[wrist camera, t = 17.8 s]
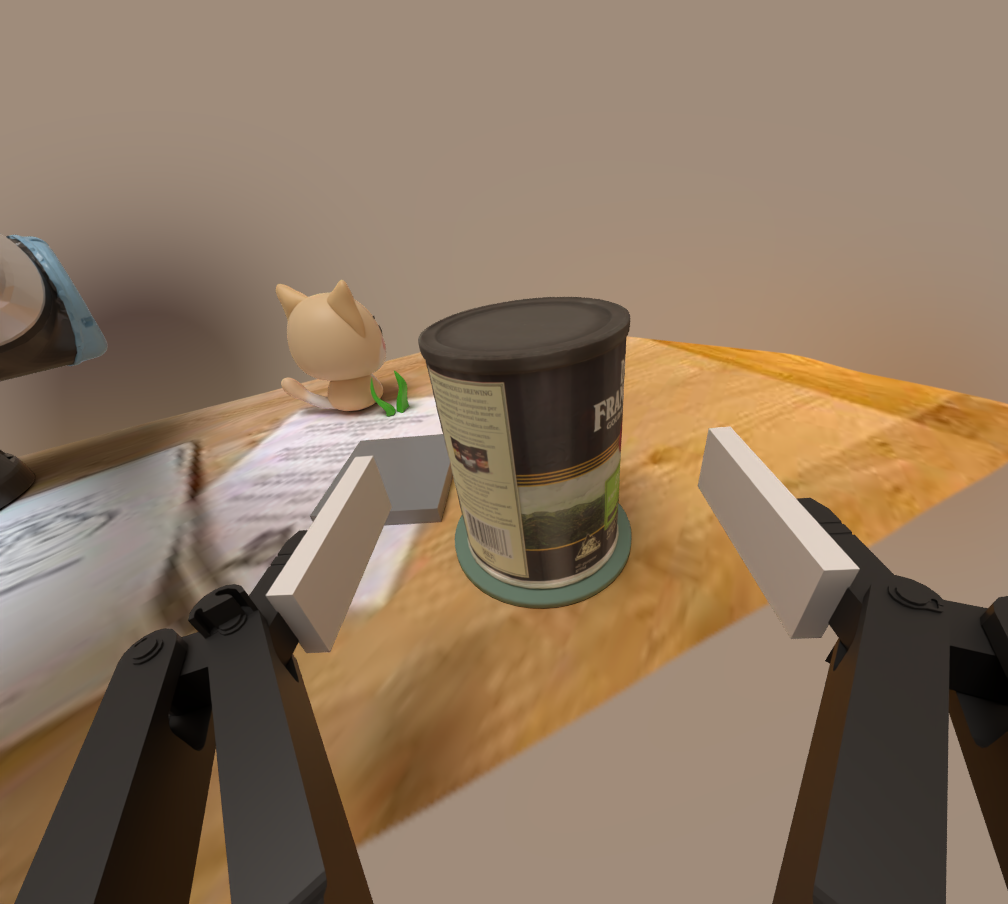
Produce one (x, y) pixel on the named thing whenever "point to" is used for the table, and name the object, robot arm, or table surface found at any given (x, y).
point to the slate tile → (407, 477)
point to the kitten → (336, 350)
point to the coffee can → (533, 432)
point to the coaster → (552, 595)
